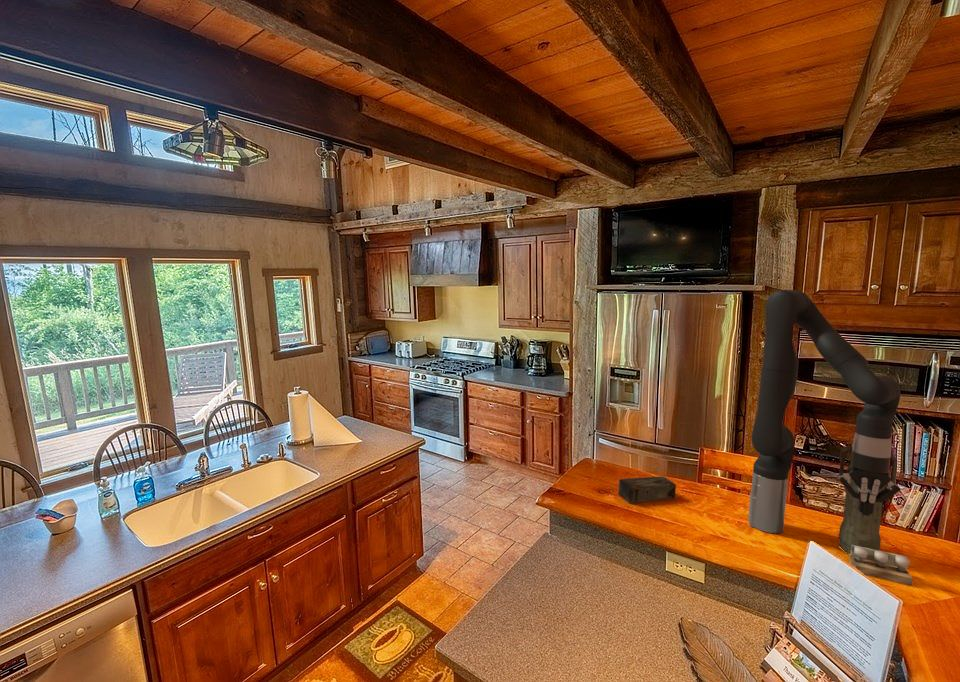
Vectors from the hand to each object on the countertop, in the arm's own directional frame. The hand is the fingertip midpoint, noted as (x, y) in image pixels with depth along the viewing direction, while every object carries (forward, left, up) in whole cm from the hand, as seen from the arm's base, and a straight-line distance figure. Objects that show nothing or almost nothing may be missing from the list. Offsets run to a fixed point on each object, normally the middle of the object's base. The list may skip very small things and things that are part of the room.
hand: (864, 514), depth 116 cm
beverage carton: (-57, +16, -16) cm, 61 cm away
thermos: (+2, +10, -16) cm, 19 cm away
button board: (+4, 0, -15) cm, 16 cm away
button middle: (+4, 0, -14) cm, 14 cm away
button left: (0, 0, -14) cm, 14 cm away
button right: (+8, 0, -14) cm, 16 cm away
